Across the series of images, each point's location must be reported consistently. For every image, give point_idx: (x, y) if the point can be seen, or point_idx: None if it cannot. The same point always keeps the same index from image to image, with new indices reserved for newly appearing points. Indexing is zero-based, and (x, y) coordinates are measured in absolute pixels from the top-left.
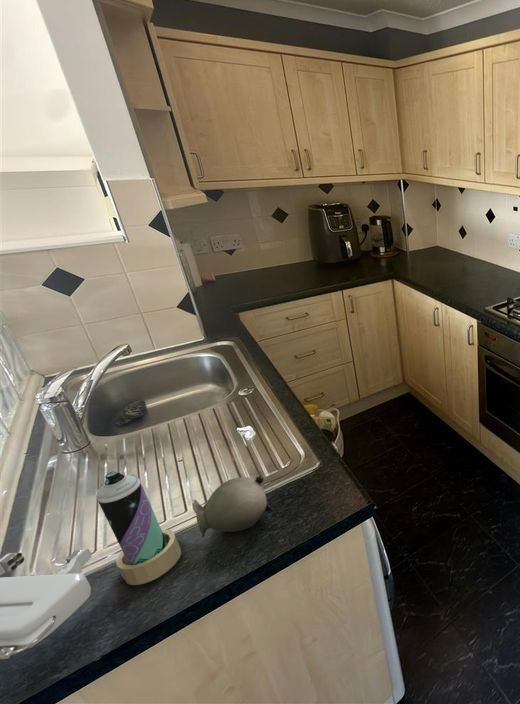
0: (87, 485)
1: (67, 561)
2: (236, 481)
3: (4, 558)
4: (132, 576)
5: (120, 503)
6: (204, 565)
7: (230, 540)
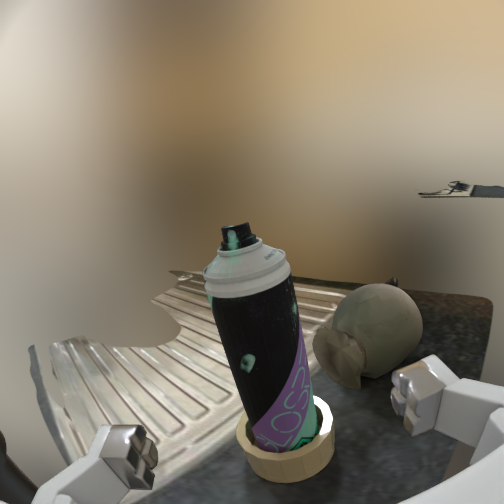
0: (86, 366)
1: (420, 409)
2: (375, 285)
3: (103, 442)
4: (296, 469)
5: (280, 297)
6: (392, 424)
7: (386, 387)
